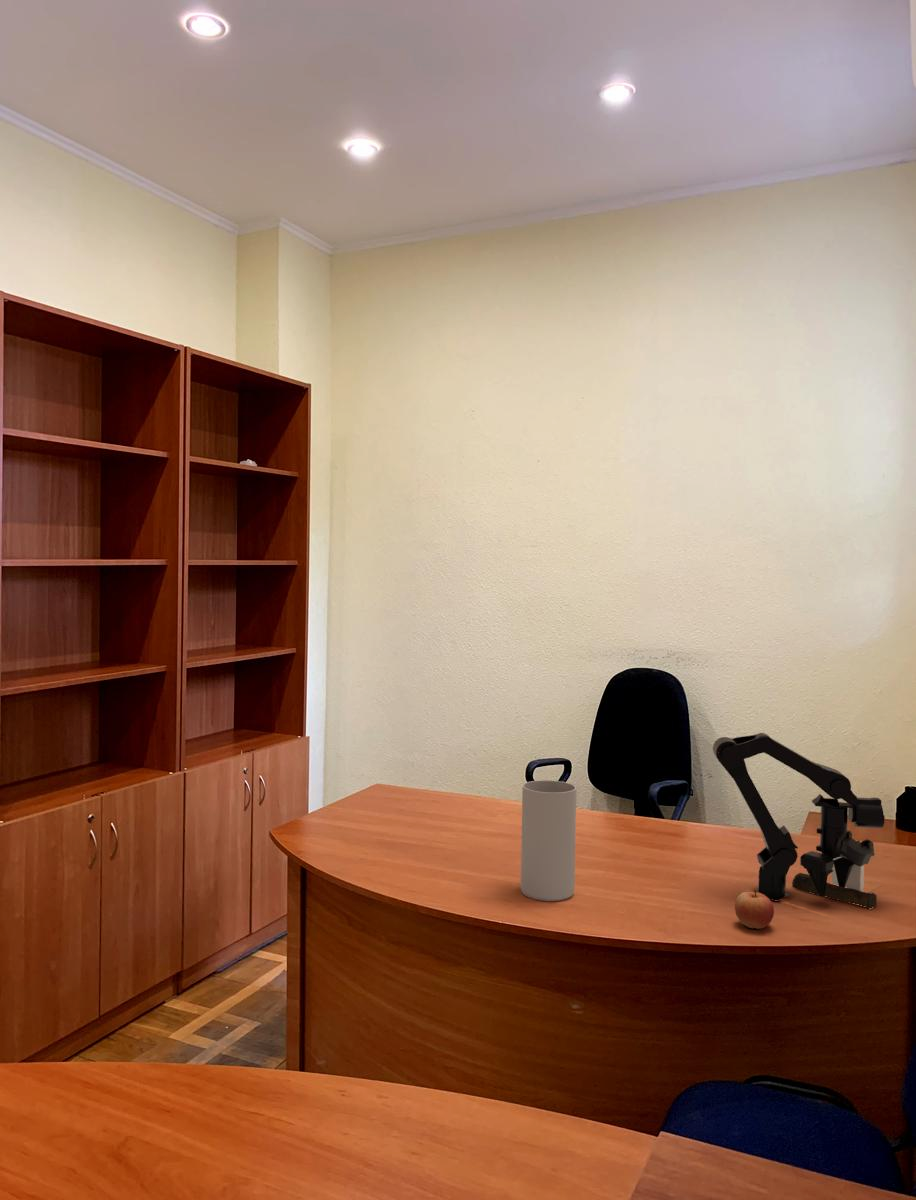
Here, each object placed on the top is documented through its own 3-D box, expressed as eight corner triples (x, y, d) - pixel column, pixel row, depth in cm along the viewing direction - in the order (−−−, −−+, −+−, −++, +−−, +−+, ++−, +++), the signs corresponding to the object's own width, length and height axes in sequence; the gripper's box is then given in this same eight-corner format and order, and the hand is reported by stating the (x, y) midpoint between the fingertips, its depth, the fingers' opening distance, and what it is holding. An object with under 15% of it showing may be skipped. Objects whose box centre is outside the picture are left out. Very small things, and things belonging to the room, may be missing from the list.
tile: (860, 892, 213) (861, 859, 213) (831, 884, 219) (832, 851, 218) (863, 891, 214) (864, 857, 214) (835, 883, 220) (836, 850, 219)
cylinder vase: (585, 894, 211) (587, 787, 210) (548, 906, 203) (550, 795, 202) (546, 880, 220) (548, 778, 220) (509, 891, 212) (511, 785, 211)
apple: (746, 916, 199) (747, 880, 199) (780, 927, 193) (781, 890, 193) (726, 925, 193) (727, 888, 193) (760, 936, 188) (761, 898, 187)
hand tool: (878, 909, 205) (878, 889, 205) (871, 913, 202) (871, 893, 202) (797, 888, 219) (798, 868, 218) (789, 891, 216) (790, 872, 216)
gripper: (847, 840, 197) (845, 911, 198) (887, 826, 209) (885, 893, 210) (799, 829, 206) (798, 896, 206) (841, 816, 218) (839, 880, 218)
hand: (831, 892), depth 210 cm, fingers open, 9 cm apart
